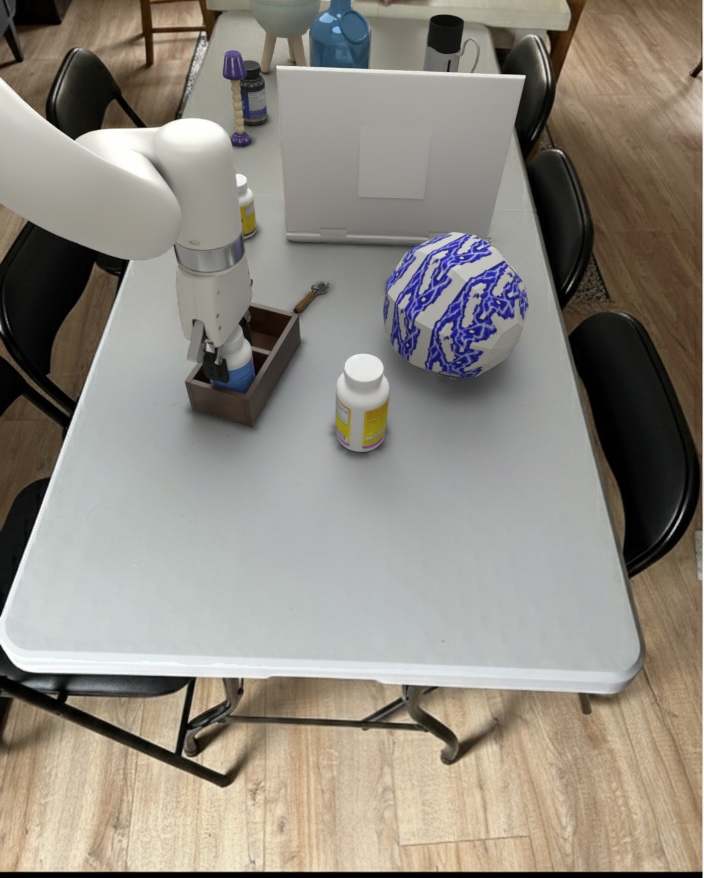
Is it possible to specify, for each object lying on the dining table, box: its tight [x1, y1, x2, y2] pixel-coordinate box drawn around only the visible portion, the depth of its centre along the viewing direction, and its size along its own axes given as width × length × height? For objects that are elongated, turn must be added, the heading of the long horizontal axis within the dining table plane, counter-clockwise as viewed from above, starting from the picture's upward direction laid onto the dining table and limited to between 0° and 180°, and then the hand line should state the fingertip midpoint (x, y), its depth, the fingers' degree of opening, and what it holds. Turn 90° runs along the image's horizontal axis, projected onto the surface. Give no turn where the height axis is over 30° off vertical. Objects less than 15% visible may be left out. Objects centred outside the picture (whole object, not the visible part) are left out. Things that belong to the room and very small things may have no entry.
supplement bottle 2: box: [335, 353, 391, 453], centre depth 78 cm, size 7×7×13 cm
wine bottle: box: [308, 0, 372, 69], centre depth 129 cm, size 14×13×30 cm
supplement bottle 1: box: [236, 173, 257, 240], centre depth 106 cm, size 5×5×10 cm
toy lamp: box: [222, 49, 252, 147], centre depth 123 cm, size 5×5×17 cm
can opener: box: [292, 280, 330, 314], centre depth 99 cm, size 9×2×1 cm, turn 144°
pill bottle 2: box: [239, 59, 268, 126], centre depth 131 cm, size 6×6×11 cm
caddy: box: [184, 301, 301, 428], centre depth 87 cm, size 9×17×6 cm, turn 161°
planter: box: [248, 0, 321, 74], centre depth 142 cm, size 16×16×22 cm
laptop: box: [275, 65, 526, 247], centre depth 105 cm, size 35×26×28 cm
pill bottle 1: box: [206, 324, 255, 394], centre depth 82 cm, size 6×6×11 cm
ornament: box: [382, 232, 529, 380], centre depth 86 cm, size 20×20×20 cm
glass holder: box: [422, 13, 481, 73], centre depth 138 cm, size 9×14×15 cm, turn 43°
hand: (229, 360), depth 81 cm, fingers closed on pill bottle 1, 6 cm apart
